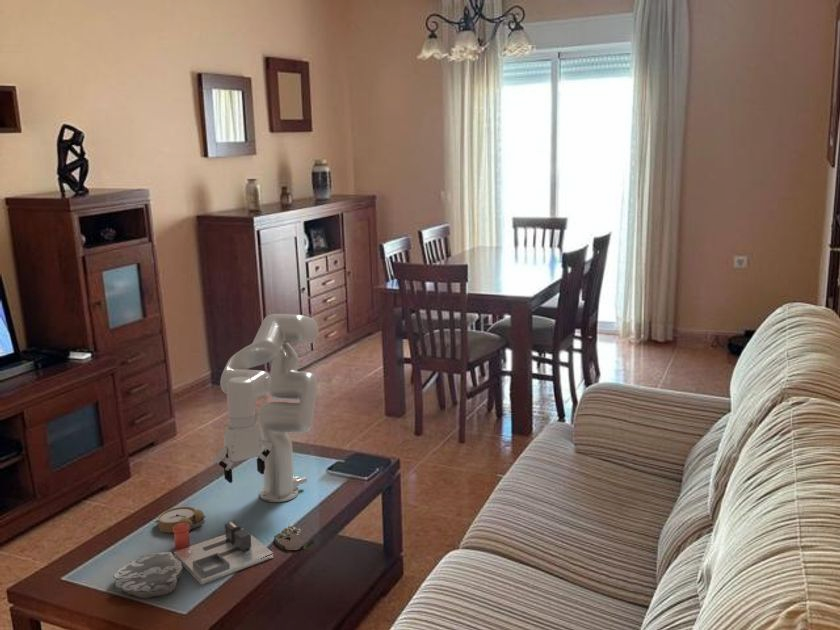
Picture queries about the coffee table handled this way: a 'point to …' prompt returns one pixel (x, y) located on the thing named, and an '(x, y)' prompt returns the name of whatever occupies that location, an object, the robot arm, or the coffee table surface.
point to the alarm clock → (180, 518)
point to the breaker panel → (220, 558)
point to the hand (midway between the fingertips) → (245, 476)
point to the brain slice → (149, 575)
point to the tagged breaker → (231, 530)
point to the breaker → (242, 539)
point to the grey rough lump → (288, 532)
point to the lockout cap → (181, 536)
